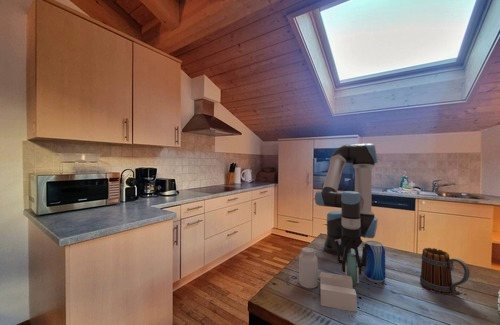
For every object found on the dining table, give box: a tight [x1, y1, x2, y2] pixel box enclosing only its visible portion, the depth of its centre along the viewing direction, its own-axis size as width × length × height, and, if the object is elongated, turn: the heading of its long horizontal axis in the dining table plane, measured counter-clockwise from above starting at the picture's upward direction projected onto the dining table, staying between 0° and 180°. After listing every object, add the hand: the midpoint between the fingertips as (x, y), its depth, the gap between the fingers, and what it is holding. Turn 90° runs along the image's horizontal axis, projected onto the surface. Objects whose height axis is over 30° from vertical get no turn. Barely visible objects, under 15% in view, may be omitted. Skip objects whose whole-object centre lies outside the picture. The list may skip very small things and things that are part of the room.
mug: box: [419, 247, 471, 296], centre depth 86 cm, size 16×11×15 cm
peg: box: [346, 253, 358, 286], centre depth 92 cm, size 4×4×12 cm
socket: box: [319, 271, 358, 313], centre depth 82 cm, size 13×12×6 cm
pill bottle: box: [298, 246, 319, 289], centre depth 91 cm, size 8×8×15 cm
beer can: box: [363, 240, 386, 284], centre depth 95 cm, size 8×8×16 cm
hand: (351, 280), depth 92 cm, fingers closed on peg, 4 cm apart
